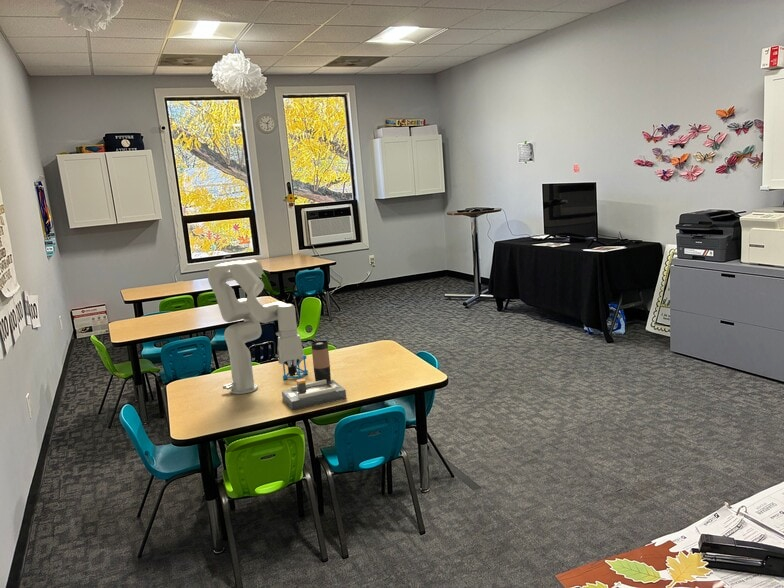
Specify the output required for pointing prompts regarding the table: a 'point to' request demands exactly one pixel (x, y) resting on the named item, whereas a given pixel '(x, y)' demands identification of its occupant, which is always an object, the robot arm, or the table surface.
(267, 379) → the table surface
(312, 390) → the switch panel
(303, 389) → the switch handle
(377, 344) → the table surface
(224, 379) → the table surface
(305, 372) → the molecular structure
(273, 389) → the table surface
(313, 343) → the travel mug
